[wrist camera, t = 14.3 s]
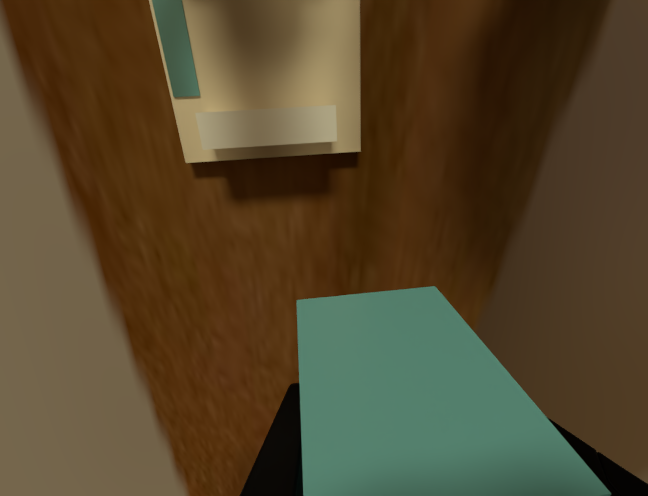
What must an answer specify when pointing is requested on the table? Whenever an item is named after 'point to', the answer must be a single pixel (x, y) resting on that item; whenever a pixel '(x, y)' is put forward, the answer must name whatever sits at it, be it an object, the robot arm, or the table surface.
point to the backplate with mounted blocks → (262, 76)
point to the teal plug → (419, 406)
